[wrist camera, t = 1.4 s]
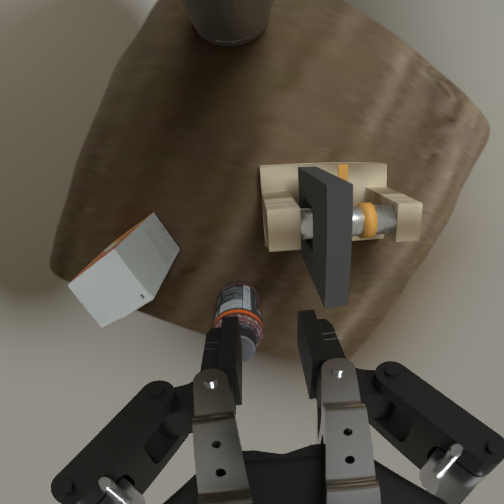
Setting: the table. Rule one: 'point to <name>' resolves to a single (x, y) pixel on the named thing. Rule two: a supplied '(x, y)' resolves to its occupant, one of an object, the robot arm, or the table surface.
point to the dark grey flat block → (328, 233)
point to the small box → (126, 272)
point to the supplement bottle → (242, 314)
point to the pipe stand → (364, 205)
